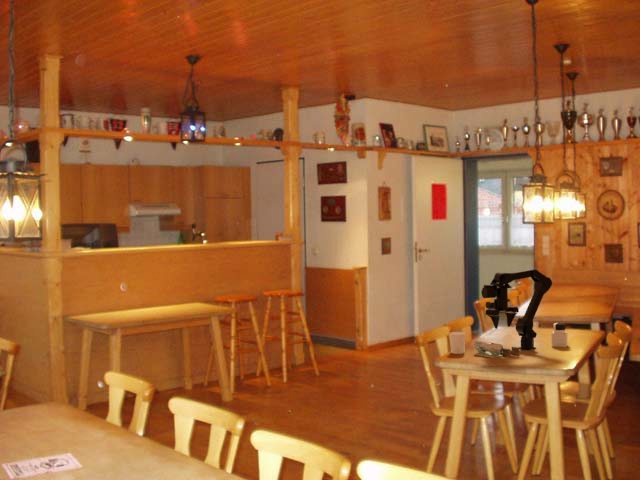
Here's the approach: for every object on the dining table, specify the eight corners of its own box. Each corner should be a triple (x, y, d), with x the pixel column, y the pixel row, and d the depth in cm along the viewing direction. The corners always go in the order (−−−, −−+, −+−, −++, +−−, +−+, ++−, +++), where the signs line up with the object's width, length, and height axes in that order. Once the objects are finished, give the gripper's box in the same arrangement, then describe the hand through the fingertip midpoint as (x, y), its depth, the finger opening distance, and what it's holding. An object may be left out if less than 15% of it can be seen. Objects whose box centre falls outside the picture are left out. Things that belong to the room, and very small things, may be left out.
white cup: (465, 354, 382) (465, 334, 382) (449, 354, 384) (449, 334, 383) (465, 351, 390) (465, 332, 389) (450, 351, 391) (449, 331, 391)
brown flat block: (506, 352, 385) (505, 345, 385) (519, 354, 378) (519, 347, 378) (494, 354, 380) (494, 347, 380) (508, 356, 373) (507, 349, 373)
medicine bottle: (567, 345, 399) (567, 322, 399) (565, 347, 393) (565, 324, 393) (553, 344, 402) (553, 321, 402) (551, 346, 396) (551, 323, 396)
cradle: (485, 352, 385) (485, 344, 385) (503, 356, 375) (503, 347, 375) (474, 354, 381) (474, 346, 381) (492, 358, 371) (492, 349, 371)
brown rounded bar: (474, 349, 383) (474, 340, 383) (480, 348, 385) (480, 340, 385) (496, 353, 370) (496, 344, 370) (503, 353, 373) (503, 344, 373)
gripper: (502, 294, 399) (503, 324, 399) (477, 297, 388) (477, 327, 389) (519, 296, 390) (519, 326, 390) (493, 299, 379) (494, 330, 380)
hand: (502, 327), depth 387 cm, fingers open, 9 cm apart
